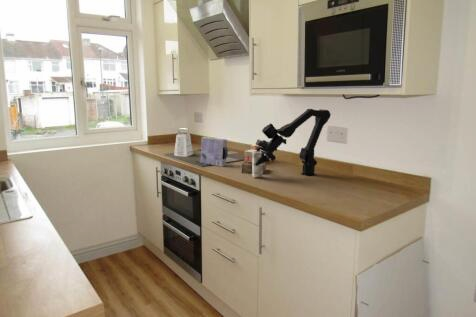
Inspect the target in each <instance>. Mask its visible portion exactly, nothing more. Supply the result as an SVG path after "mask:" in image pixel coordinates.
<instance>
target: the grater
mask: <svg viewBox="0 0 476 317" xmlns="http://www.w3.org/2000/svg"><path fill="white" fill-rule="evenodd" d="M181 130H186V133H181ZM192 155H194V153H193V146H192V139H191V134H190V129H189V128H184V127H183V128H181V127H180V128H178V129H177V134H176V137H175V145H174V153H173V156H175V157H184V158H185V157H189V156H192Z"/></svg>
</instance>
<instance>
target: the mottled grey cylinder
mask: <svg viewBox="0 0 476 317" xmlns="http://www.w3.org/2000/svg"><path fill="white" fill-rule="evenodd" d="M261 153H262V152H261V151H259V152H252V173H251V176H252V178H263V174H262V171H263V163H262V164H260V165H257V166H256V163H257V161H258V160H259V159H260V157H261Z"/></svg>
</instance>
